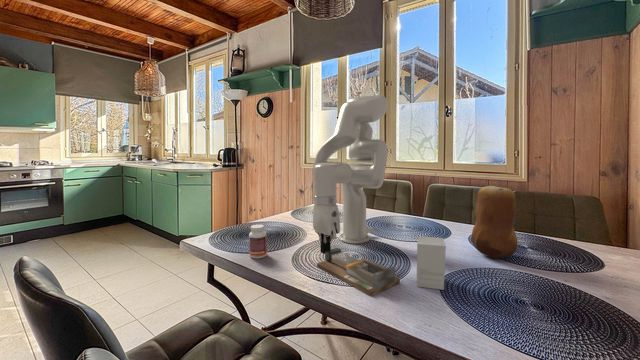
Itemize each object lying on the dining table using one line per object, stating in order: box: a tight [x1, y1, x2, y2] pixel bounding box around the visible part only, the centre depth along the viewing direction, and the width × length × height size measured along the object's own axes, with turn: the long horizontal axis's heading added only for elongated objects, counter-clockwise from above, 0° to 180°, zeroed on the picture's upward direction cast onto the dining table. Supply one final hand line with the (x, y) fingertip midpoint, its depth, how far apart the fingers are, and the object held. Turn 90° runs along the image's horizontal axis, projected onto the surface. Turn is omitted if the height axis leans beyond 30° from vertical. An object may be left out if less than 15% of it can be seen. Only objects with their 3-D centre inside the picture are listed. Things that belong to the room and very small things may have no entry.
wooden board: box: [316, 258, 401, 297], centre depth 91 cm, size 12×24×5 cm, turn 37°
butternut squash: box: [470, 185, 518, 260], centre depth 103 cm, size 14×13×25 cm
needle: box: [346, 259, 368, 271], centre depth 88 cm, size 8×2×4 cm, turn 127°
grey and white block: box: [324, 247, 361, 269], centre depth 96 cm, size 5×13×3 cm, turn 37°
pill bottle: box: [248, 224, 268, 259], centre depth 107 cm, size 6×6×11 cm
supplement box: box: [416, 235, 447, 291], centre depth 85 cm, size 7×7×13 cm
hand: (325, 252), depth 103 cm, fingers closed
